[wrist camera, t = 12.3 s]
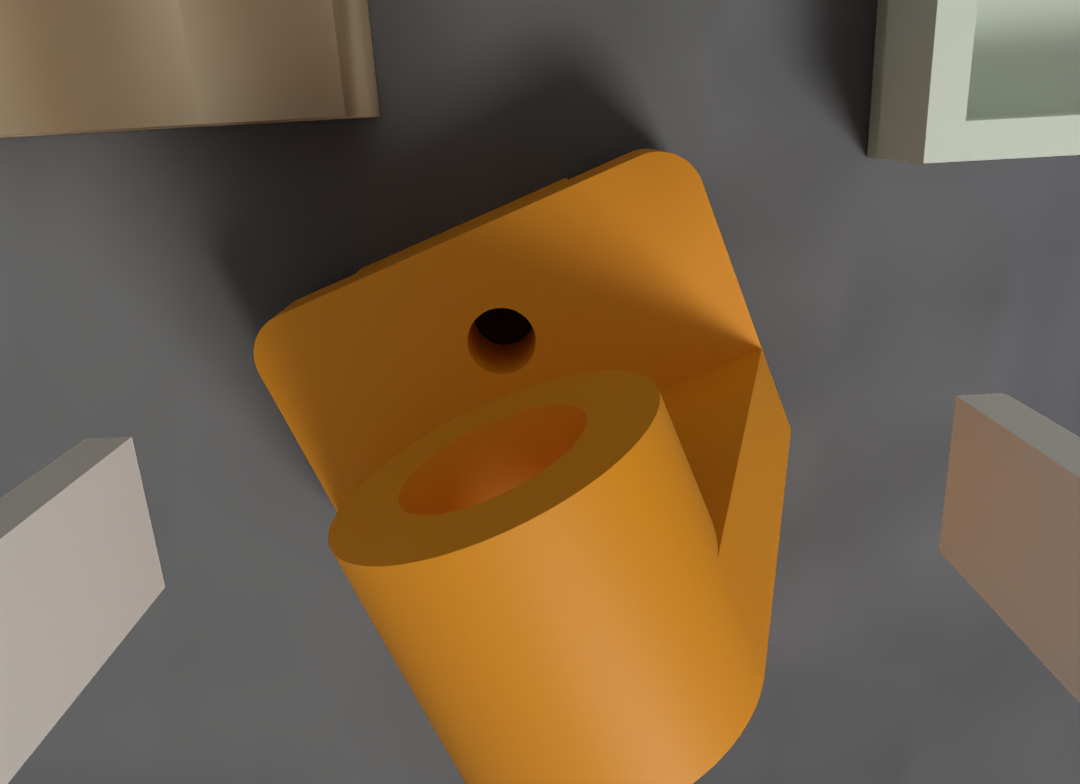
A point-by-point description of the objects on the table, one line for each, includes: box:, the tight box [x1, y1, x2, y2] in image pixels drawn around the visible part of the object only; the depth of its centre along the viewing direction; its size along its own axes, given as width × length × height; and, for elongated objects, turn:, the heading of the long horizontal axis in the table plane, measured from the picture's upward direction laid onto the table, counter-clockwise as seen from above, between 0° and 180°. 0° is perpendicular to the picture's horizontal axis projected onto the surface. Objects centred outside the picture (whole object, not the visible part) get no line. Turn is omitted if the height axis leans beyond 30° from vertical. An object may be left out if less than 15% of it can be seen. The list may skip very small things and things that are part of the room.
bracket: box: [254, 149, 791, 784], centre depth 16 cm, size 11×7×12 cm, turn 113°
